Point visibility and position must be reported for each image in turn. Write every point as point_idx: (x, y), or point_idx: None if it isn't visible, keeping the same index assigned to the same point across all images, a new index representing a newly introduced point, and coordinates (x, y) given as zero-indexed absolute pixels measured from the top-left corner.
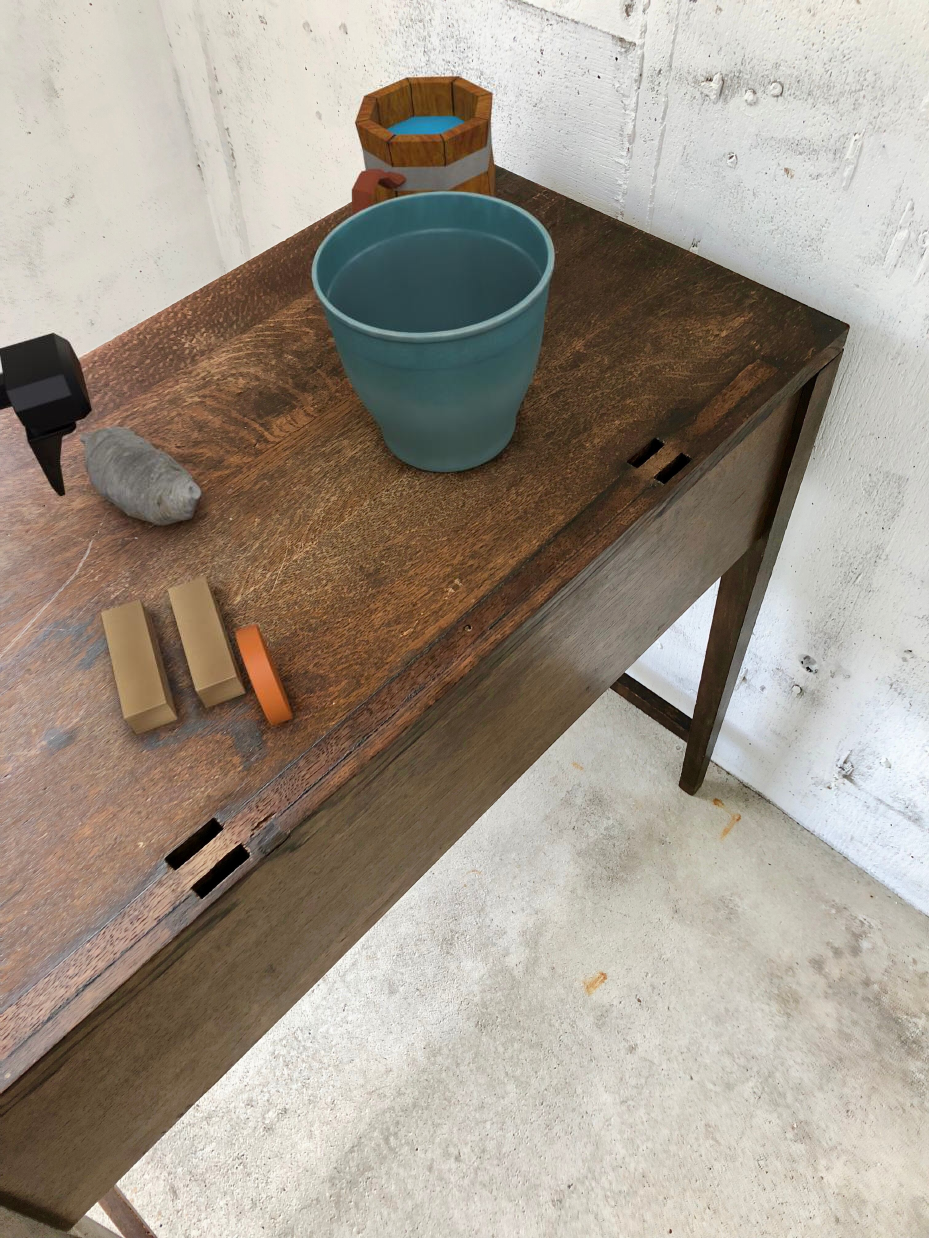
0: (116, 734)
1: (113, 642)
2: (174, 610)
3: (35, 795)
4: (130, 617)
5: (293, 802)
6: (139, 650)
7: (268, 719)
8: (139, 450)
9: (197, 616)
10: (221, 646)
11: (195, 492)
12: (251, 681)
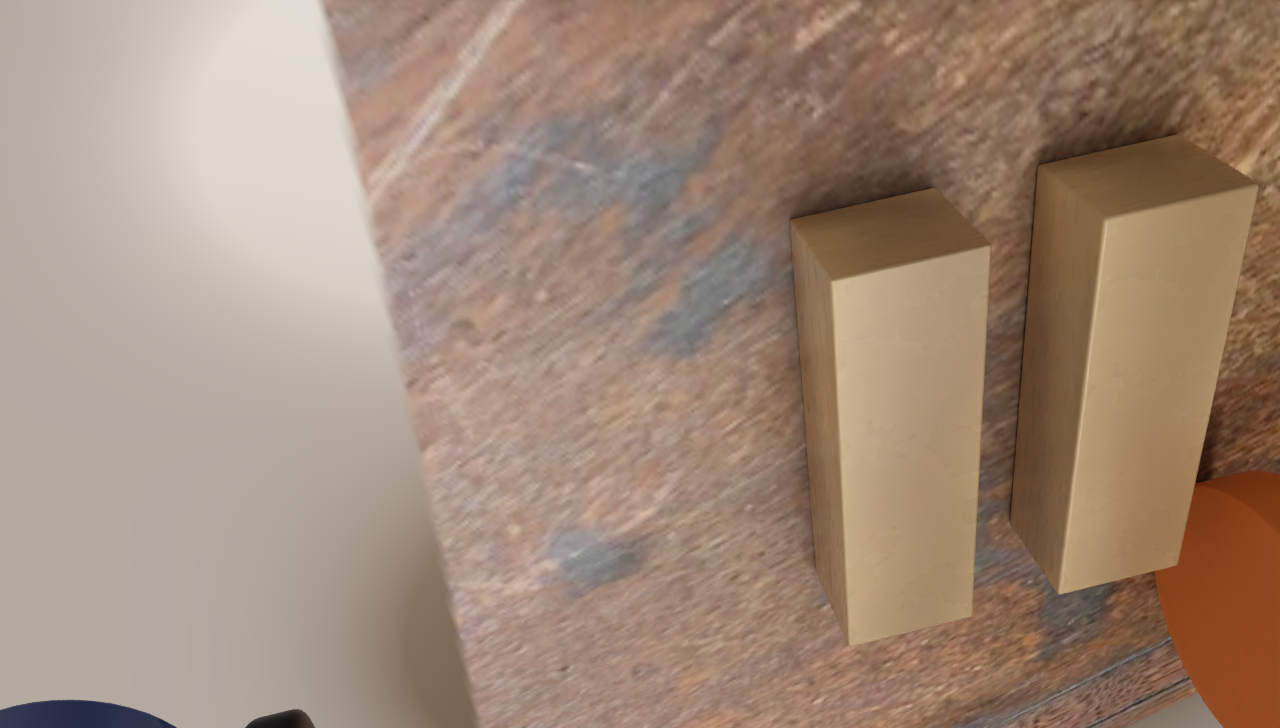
0: (758, 562)
1: (858, 418)
2: (1095, 322)
3: (538, 681)
4: (938, 328)
5: (1105, 717)
6: (939, 460)
7: (1215, 717)
8: None
9: (1159, 362)
10: (1180, 477)
11: None
12: None
